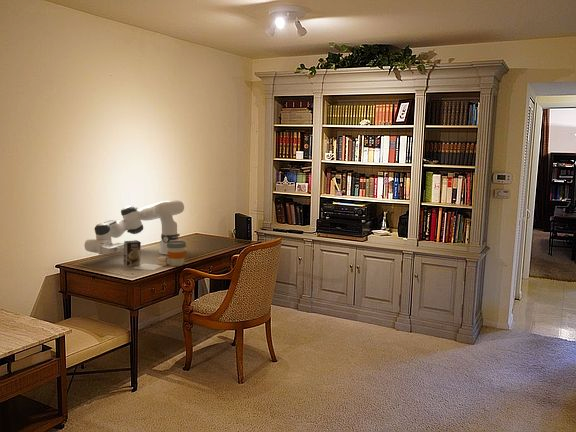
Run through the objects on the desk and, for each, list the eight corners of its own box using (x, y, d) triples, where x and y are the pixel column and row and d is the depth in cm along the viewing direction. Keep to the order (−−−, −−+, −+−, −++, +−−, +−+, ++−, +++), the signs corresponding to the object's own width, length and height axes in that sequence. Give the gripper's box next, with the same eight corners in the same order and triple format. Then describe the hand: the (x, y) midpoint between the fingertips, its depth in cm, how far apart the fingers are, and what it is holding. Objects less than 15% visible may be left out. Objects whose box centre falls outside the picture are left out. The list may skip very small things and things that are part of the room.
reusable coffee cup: (189, 265, 351) (189, 243, 349) (171, 267, 343) (171, 244, 341) (181, 261, 361) (181, 240, 359) (164, 263, 354) (163, 242, 352)
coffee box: (127, 267, 340) (127, 243, 337) (123, 264, 345) (123, 240, 342) (140, 265, 346) (141, 241, 343) (136, 263, 351) (137, 239, 348)
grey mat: (144, 264, 351) (144, 263, 351) (163, 265, 347) (163, 265, 347) (132, 268, 338) (132, 268, 338) (152, 270, 334) (152, 270, 334)
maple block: (160, 263, 354) (160, 256, 353) (167, 263, 354) (167, 256, 353) (158, 265, 349) (158, 258, 348) (165, 265, 349) (165, 258, 348)
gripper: (116, 249, 358) (133, 250, 354) (97, 254, 339) (115, 256, 335) (116, 240, 358) (133, 241, 354) (97, 245, 338) (115, 247, 334)
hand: (124, 249), depth 344 cm, fingers closed
